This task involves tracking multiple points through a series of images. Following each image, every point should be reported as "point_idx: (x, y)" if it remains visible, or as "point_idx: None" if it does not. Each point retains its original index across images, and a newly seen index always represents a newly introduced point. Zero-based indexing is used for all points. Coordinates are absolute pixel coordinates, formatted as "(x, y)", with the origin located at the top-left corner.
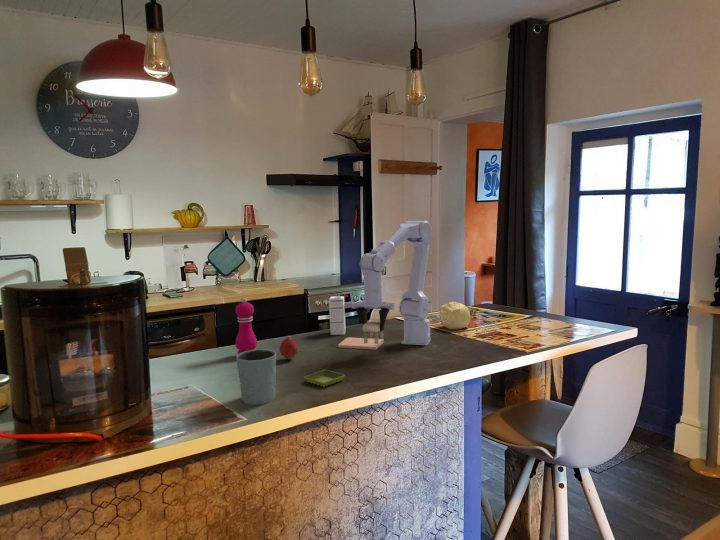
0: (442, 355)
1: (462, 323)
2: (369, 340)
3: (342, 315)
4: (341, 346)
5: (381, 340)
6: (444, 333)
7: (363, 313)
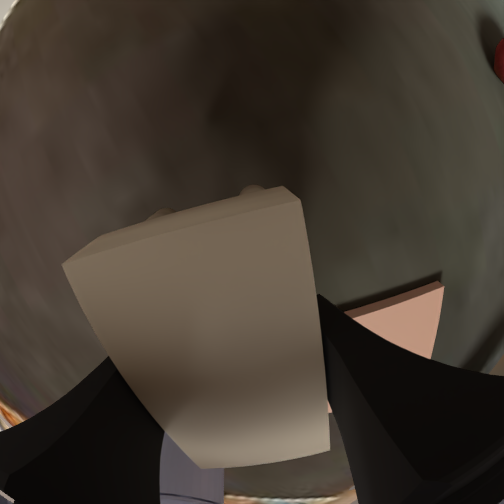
0: (31, 340)
1: None
2: None
3: None
4: (428, 287)
5: None
6: None
7: (401, 450)
